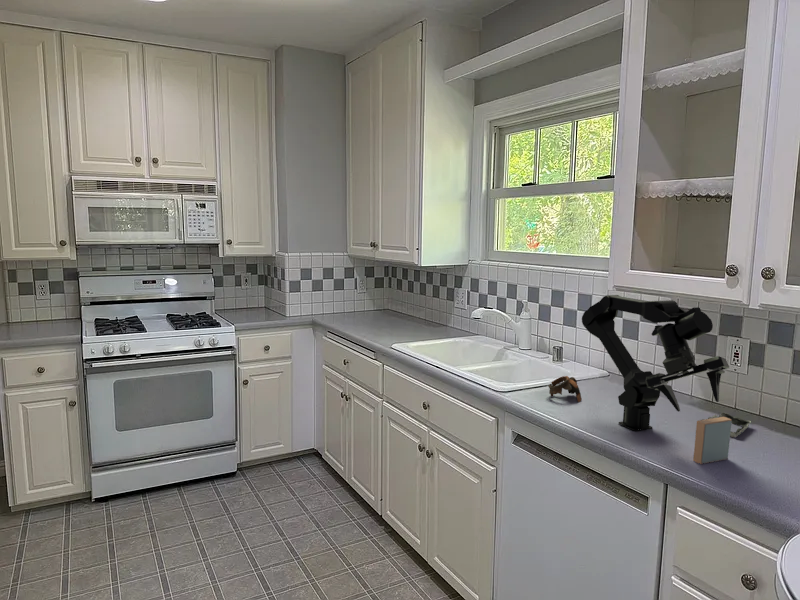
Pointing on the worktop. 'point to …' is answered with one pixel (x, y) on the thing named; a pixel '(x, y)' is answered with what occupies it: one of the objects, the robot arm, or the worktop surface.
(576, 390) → the brown arched part
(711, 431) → the flat brown rectangular block
